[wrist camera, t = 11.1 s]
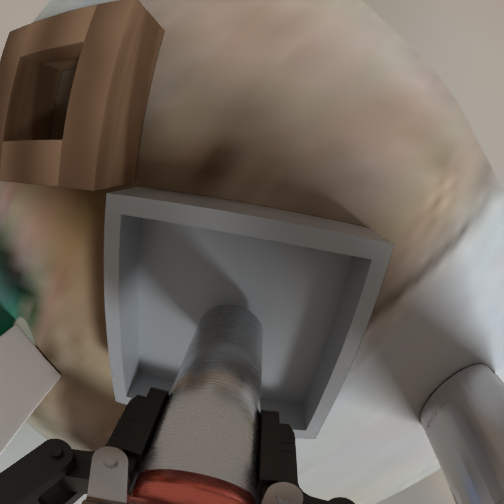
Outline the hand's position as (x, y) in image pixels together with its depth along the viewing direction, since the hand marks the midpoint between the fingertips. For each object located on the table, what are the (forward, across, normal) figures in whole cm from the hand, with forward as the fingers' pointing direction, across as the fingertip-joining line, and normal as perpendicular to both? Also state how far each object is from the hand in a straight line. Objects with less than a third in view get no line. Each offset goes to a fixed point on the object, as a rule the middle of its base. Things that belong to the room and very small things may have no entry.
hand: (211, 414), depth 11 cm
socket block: (+9, +13, -13) cm, 21 cm away
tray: (+9, 0, 0) cm, 9 cm away
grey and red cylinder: (+7, 0, 0) cm, 7 cm away
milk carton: (+9, +21, +12) cm, 26 cm away
